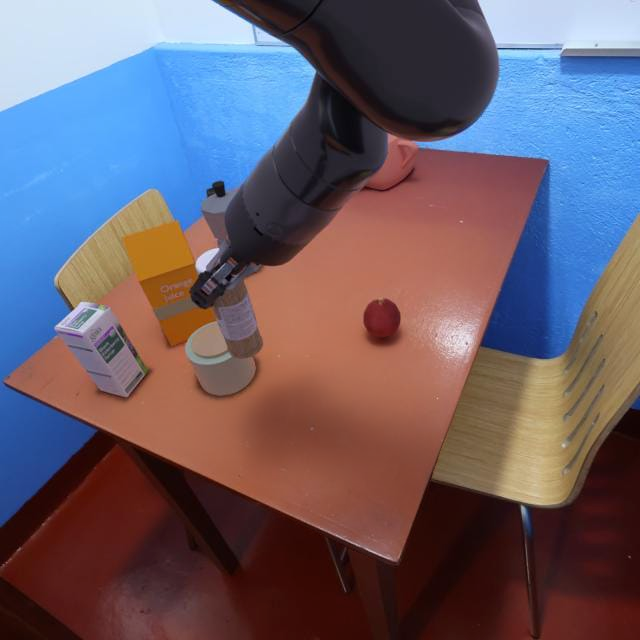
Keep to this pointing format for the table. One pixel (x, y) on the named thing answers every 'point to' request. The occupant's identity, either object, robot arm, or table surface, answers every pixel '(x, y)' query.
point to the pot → (395, 163)
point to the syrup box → (102, 348)
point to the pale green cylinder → (217, 362)
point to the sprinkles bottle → (235, 315)
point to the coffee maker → (218, 211)
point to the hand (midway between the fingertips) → (213, 287)
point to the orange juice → (168, 279)
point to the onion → (381, 317)
